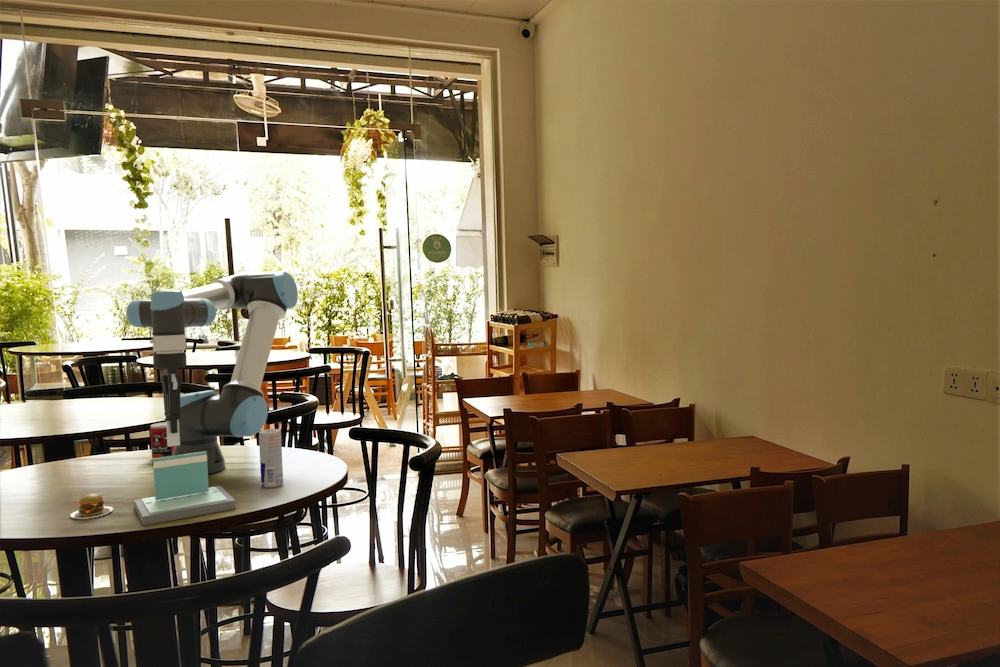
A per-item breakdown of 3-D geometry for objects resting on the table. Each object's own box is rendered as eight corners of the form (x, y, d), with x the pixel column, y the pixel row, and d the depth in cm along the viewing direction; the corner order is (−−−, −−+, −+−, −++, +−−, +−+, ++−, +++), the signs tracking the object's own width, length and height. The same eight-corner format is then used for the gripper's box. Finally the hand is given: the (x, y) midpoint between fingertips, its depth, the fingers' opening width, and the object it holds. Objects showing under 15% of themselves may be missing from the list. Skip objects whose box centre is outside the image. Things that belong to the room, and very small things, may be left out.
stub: (155, 499, 170) (152, 458, 169) (208, 490, 177) (206, 451, 176) (155, 500, 169) (153, 459, 169) (208, 491, 176) (206, 451, 175)
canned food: (146, 461, 222) (144, 426, 222) (162, 455, 230) (161, 421, 229) (168, 461, 221) (167, 426, 220) (184, 455, 229) (182, 421, 228)
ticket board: (134, 508, 172) (133, 498, 172) (220, 493, 183) (220, 484, 183) (143, 525, 159) (142, 514, 159) (235, 508, 170) (235, 498, 170)
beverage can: (286, 482, 192) (284, 428, 191) (278, 488, 187) (275, 432, 186) (266, 482, 193) (264, 428, 192) (257, 488, 187) (255, 432, 186)
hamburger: (116, 505, 177) (114, 484, 177) (124, 517, 167) (123, 494, 167) (60, 515, 170) (58, 493, 169) (65, 528, 160) (64, 504, 160)
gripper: (149, 351, 180) (153, 443, 182) (157, 354, 170) (161, 451, 171) (181, 350, 185) (185, 439, 186) (190, 352, 174) (194, 447, 175)
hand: (173, 445), depth 178 cm, fingers closed
